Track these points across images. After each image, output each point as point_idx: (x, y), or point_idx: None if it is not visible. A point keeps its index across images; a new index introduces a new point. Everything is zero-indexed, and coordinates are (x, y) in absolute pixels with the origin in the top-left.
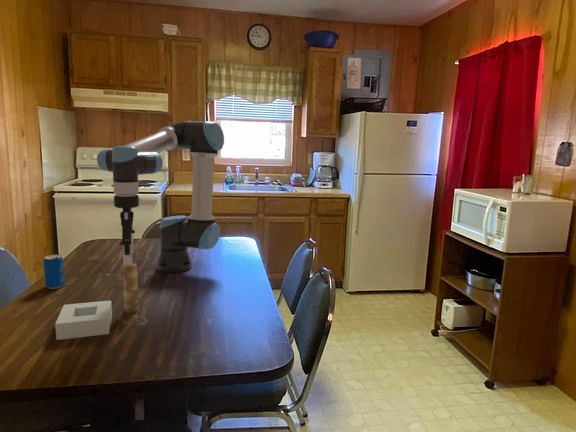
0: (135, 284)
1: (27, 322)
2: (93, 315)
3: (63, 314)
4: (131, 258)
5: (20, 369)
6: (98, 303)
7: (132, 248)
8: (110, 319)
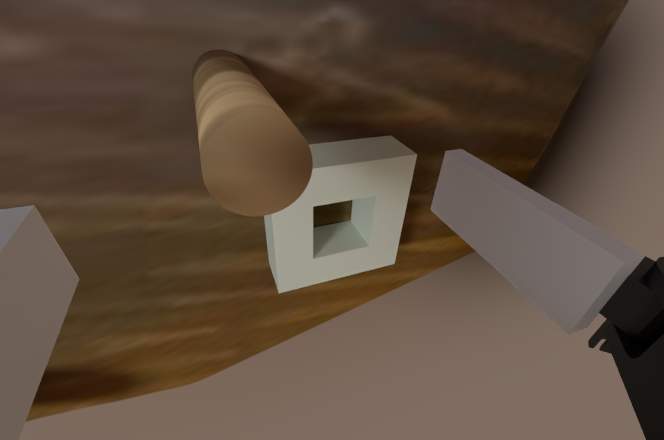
0: (263, 87)
1: (270, 320)
2: (380, 198)
3: (346, 268)
4: (494, 175)
5: (451, 248)
6: (289, 210)
7: (17, 247)
8: (329, 147)
